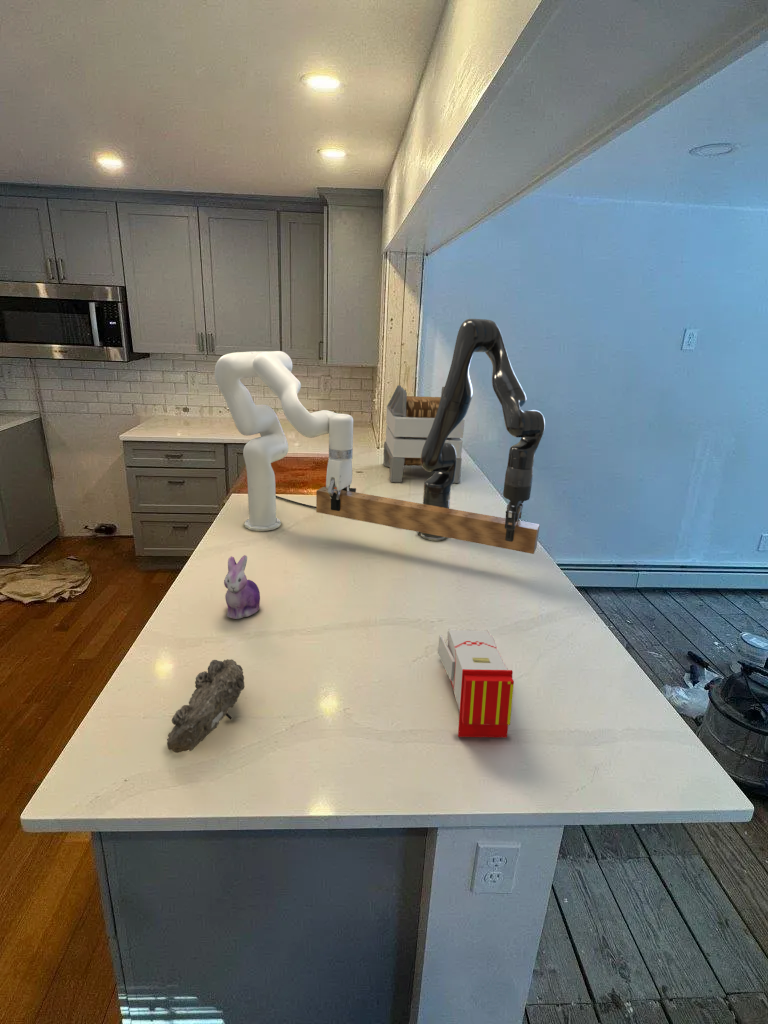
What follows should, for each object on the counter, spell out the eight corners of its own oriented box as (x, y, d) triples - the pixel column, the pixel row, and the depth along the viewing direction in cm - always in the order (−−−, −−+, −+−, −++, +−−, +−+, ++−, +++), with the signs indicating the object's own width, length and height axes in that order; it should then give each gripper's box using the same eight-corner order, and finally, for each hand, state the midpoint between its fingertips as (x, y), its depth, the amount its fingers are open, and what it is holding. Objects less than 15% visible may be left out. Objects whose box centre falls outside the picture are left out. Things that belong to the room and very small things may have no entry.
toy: (488, 613, 130) (523, 677, 101) (484, 667, 133) (517, 744, 104) (435, 612, 130) (455, 676, 101) (432, 666, 133) (451, 743, 103)
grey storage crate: (382, 463, 289) (386, 382, 275) (445, 464, 293) (451, 384, 279) (390, 482, 257) (394, 392, 243) (460, 483, 261) (468, 394, 247)
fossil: (192, 660, 117) (244, 628, 112) (224, 691, 120) (276, 661, 115) (142, 746, 98) (202, 712, 93) (182, 779, 101) (242, 748, 96)
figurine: (229, 624, 139) (226, 568, 134) (220, 605, 148) (216, 552, 142) (266, 616, 143) (265, 562, 138) (255, 598, 152) (254, 546, 147)
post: (536, 548, 166) (539, 524, 163) (533, 554, 161) (537, 529, 159) (323, 507, 191) (323, 486, 189) (316, 512, 187) (316, 490, 184)
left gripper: (342, 446, 188) (341, 498, 194) (316, 457, 173) (316, 513, 180) (362, 449, 186) (361, 502, 192) (338, 461, 171) (337, 517, 177)
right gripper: (510, 473, 167) (503, 527, 173) (499, 486, 155) (492, 543, 160) (535, 477, 164) (528, 532, 170) (527, 490, 152) (519, 548, 158)
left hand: (339, 507), depth 186 cm, fingers closed on post, 5 cm apart
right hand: (511, 537), depth 165 cm, fingers closed on post, 5 cm apart
